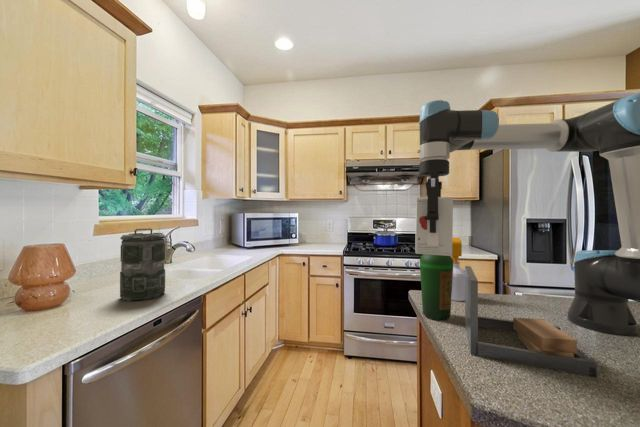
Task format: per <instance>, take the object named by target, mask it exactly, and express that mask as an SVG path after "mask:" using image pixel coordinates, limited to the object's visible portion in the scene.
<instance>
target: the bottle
mask: <svg viewBox="0 0 640 427" xmlns="http://www.w3.org/2000/svg"><path fill="white" fill-rule="evenodd" d="M453 263H454V260H453V258H452V257H451V256H444V255H428V254H421V257H420V258H419V269H420V270H419V271H420V286H421V303H422V305H421V306H422V315H423V316H425V317H426V318H429V319H430V320H436V321H447V320H449V319H451V312H452V311H451V310H452V309H451V308H452V300H451V297H452V280H453Z"/></svg>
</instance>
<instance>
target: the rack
mask: <svg viewBox="0 0 640 427" xmlns="http://www.w3.org/2000/svg"><path fill="white" fill-rule="evenodd" d="M464 271H465V301H464V316H465V317H464V324H465V331H466V335H467V341H468V348H469V353H470V355H471V356H475V357H482V358H487V359H492V360H498V361H502V362H508V363H512V364H513V363H514V364H519V365H523V366H524V365H525V366H529V367H530V366H531V367H536V368H540V369H541V368H542V369H545V370H546V369H547V370H552V371H558V372H562V373H568V374H574V375H579V376H585V377H590V378H595V379H597V378H598V371H597V367H598V366H597V365H598V364H597V362H596V361H595V360H591V359H588V358H587V357H586V356H585V355H584V354H583V353H582V352H581V351H580V350H579V349H578V348H577V354H576V353H573V354H574V357H569V356H563V355H557V354H550V353H544V352H538V351H532V350H528V349H527V348H526V349H524V348H520V347H519V348H518V347H514V346H507V345H502V344H501V345H500V344H494V343H489V342H484V341H479V328H482V329H489V330H495V331H502V332H508V333H509V332H510V333H515V334H518V332H517V331H516V330H515V329H513V320H512V319H505V318H497V317H490V316H489V317H488V316H481V315H479V281H478V279H477V277H476V274H475V272H474V270H473V269H472V266H471V265H465V266H464ZM553 326H554V327H555V328H557V329H559V330H561V327H560V326H559V325H557V326H556V325H553ZM561 331H562V330H561Z"/></svg>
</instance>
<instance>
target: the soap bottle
mask: <svg viewBox="0 0 640 427" xmlns="http://www.w3.org/2000/svg"><path fill="white" fill-rule="evenodd" d="M462 246H463V245H462V239H461V237H452V256H451V257H452V259H453V260H454V263H453V280H452V297H451V302H452V301H453V302H465V269H463V268H461V265H460V263H461V262H460V261H458V259H459V257H462V254H463V253H462V249H463V247H462Z"/></svg>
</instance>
